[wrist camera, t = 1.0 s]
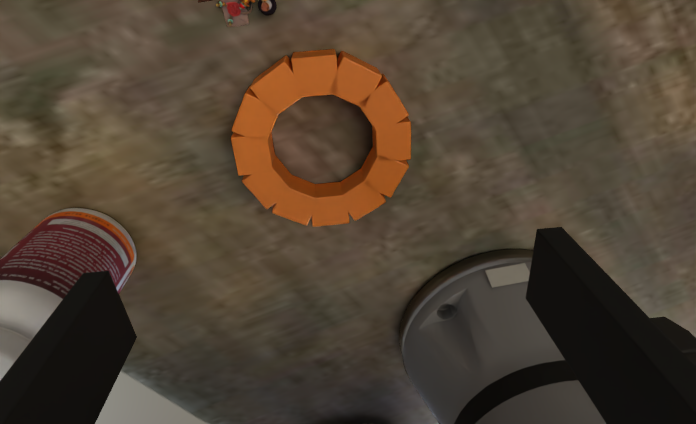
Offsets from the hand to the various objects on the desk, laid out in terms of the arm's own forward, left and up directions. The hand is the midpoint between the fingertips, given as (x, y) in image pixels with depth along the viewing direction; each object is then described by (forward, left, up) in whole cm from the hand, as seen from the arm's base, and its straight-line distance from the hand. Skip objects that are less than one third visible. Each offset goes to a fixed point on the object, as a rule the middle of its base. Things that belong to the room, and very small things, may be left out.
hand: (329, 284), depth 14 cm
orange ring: (0, 0, -14) cm, 14 cm away
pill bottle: (-6, +16, -14) cm, 22 cm away
